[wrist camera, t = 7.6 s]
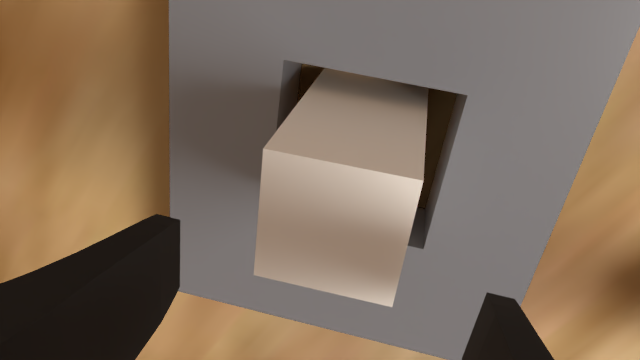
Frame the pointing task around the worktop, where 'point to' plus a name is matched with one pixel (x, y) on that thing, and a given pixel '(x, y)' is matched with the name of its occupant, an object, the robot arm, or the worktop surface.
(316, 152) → the square peg
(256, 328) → the worktop surface
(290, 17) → the socket plate
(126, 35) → the worktop surface
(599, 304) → the worktop surface
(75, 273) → the robot arm
